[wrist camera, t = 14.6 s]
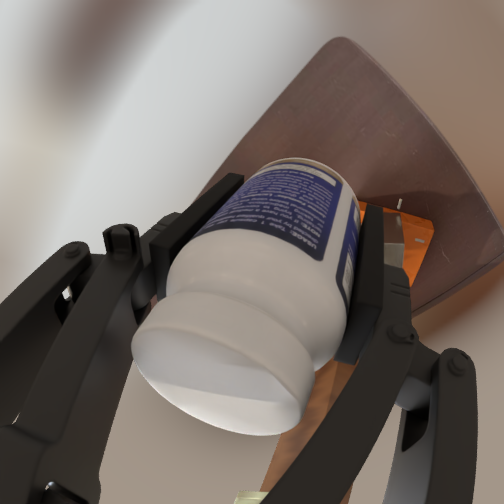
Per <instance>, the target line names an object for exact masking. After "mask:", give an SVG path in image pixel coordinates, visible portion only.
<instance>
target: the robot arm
mask: <svg viewBox="0 0 504 504" xmlns="http://www.w3.org/2000/svg"><path fill="white" fill-rule="evenodd" d="M243 184H244V175H239V174H234V173H228V174H227V175H226V176H225V177H224V178H222V179H221V180H220V181H219V182H218V183H216V184H215V185H214V186H213V187H212V188H211V189H209V190H208V191H207V192H206V193H205V194H203V195H202V196H201V197H200V198H199V199H198V200H196V201H195V202H194V203H193V204H192V205H191V206H190V207H188V208H187V209H186V210H185V211H184V212H183V213H182V214H181V213H177V212H174V213H171V214H169V215H167V216H164V217H163V218H162V219H161V220H160V221H158V222H157V224H155V225H154V226H153V227H152V228H151V229H149V230H148V231H147V232H146V233H144V235H142V236H141V237H139V231H138V229H137V227H135V226H134V225H131V224H118V225H114V226H111V227H109V228H108V229H106V230H105V231H104V232H103V237H104V243H105V247H106V251H107V253H106V254H105V255H103V254H90V250H89V247H88V245H87V244H86V243H84V242H79V241H77V242H76V241H75V242H71V243H68V244H66V245H65V246H63V247H61V248H60V249H59V250H58V251H57V252H55V253H54V254H53V255H52V256H51V257H50V258H49V259H47V260H46V261H45V262H44V263H43V264H42V265H41V266H40V267H38V268H37V269H36V270H35V271H34V272H33V273H32V274H31V275H30V276H29V277H28V278H26V279H25V280H24V281H23V282H22V283H21V284H20V285H19V286H18V287H17V288H16V289H15V290H14V291H13V292H12V293H11V294H10V295H9V296H8V297H7V298H6V299H5V300H4V301H3V302H2V303H1V304H0V504H98V503H99V499H100V493H101V485H100V481H99V469H100V466H101V462H102V458H103V455H104V451H105V447H106V444H107V440H108V437H109V434H110V430H111V427H112V423H113V420H114V417H115V414H116V410H117V407H118V404H119V401H120V398H121V394H122V391H123V388H124V385H125V382H126V379H127V376H128V373H129V370H130V367H131V364H132V361H133V356H132V351H131V343H132V338H133V336H134V334H135V333H136V331H137V330H138V328H139V327H140V326H141V324H142V323H143V322H144V320H145V319H146V318H147V316H148V315H149V313H150V312H151V302H150V300H151V299H152V298H153V296H154V295H155V294H156V295H157V300H158V302H159V301H161V300H162V299H164V298H166V285H167V277H168V273H169V270H170V267H171V265H172V263H173V261H174V260H175V258H176V256H177V255H178V254H179V252H180V251H181V250H182V248H183V247H184V246H185V245H186V244H187V243H188V242H189V241H190V239H191V238H192V237H193V236H194V235H195V234H196V233H197V232H198V231H199V230H200V229H201V228H202V227H203V226H204V225H205V224H206V223H207V222H208V221H209V220H210V218H211V217H212V216H213V215H214V214H215V213H216V212H217V211H218V210H219V209H220V208H221V207H222V206H223V205H224V204H225V203H226V202H227V201H228V200H229V199H230V198H231V197H232V196H233V195H234V194H235V192H236V191H237V190H238V189H239V188H240V187H241V186H242V185H243ZM66 288H67V289H68V292H69V294H70V296H69V297H68V298H67V299H64V297H63V294H62V292H63V291H64V290H65V289H66ZM409 289H410V284H409V277H408V276H407V274H406V272H405V271H404V269H403V268H399V267H395V266H392V265H388V264H384V214H383V207H380V206H376V205H372V204H368V203H367V206H366V209H365V213H364V217H363V221H362V225H361V230H360V239H359V247H358V255H357V262H356V269H355V277H354V283H353V290H352V296H351V302H350V308H349V314H348V320H347V325H346V329H345V332H344V335H343V339H342V342H341V344H340V346H339V348H338V350H337V351H336V353H335V354H334V359H333V360H334V361H338V362H342V363H346V364H350V365H354V366H355V364H356V362H357V360H358V358H359V361H358V364H357V366H356V368H355V370H354V371H353V373H352V375H351V376H350V378H349V380H348V381H347V383H346V385H345V386H344V388H343V390H342V391H341V393H340V394H339V396H338V398H337V399H336V401H335V402H334V404H333V405H332V407H331V408H330V410H329V412H328V413H327V415H326V416H325V418H324V419H323V421H322V422H321V424H320V425H319V426H318V428H317V429H316V431H315V432H314V434H313V435H312V437H311V438H310V439H309V441H308V442H307V444H306V445H305V446H304V448H303V449H302V450H301V452H300V453H299V455H298V456H297V457H296V459H295V460H294V461H293V463H292V464H291V465H290V466H289V468H288V469H287V470H286V472H285V473H284V474H283V475H282V477H281V478H280V479H279V480H278V482H277V483H276V484H275V485H274V487H273V488H272V489H271V490H270V492H269V493H268V494H267V495H266V496H265V497H264V499H263V500H262V501H261V502H260V503H259V504H340V503H341V501H342V500H343V498H344V496H345V495H346V493H347V492H348V490H349V488H350V487H351V485H352V484H353V482H354V480H355V478H356V477H357V475H358V473H359V472H360V470H361V468H362V466H363V465H364V463H365V461H366V459H367V457H368V455H369V454H370V452H371V450H372V448H373V446H374V444H375V442H376V441H377V439H378V437H379V435H380V432H381V431H382V428H383V427H384V425H385V422H386V420H387V418H388V416H389V414H390V412H391V410H392V407H393V405H394V404H396V405H398V406H400V407H402V412H401V419H400V425H399V431H398V437H397V443H396V448H395V453H394V458H393V463H392V467H391V472H390V476H389V481H388V485H387V489H386V493H385V496H384V500H383V504H472V500H473V493H474V484H475V474H476V461H477V437H478V416H477V415H478V410H477V386H476V371H475V366H474V363H473V361H472V360H471V358H470V357H469V356H468V355H467V354H466V353H465V352H464V351H462V350H459V349H457V348H449V349H446V350H444V351H443V352H442V353H441V355H440V354H438V353H437V352H435V351H433V350H431V349H429V348H427V347H426V346H424V345H423V344H422V343H421V342H420V341H419V336H418V334H417V332H416V330H415V328H414V327H413V326H412V323H411V300H410V290H409ZM20 411H21V412H20ZM19 413H20V414H19ZM18 414H19V416H18ZM17 416H18V418H17V420H16V422H15V423H13V421H14V420H15V419H16V417H17ZM12 423H13V424H12ZM47 485H48V486H49V488H48V489H47V490H46V489H45V488H46V486H47Z"/></svg>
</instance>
